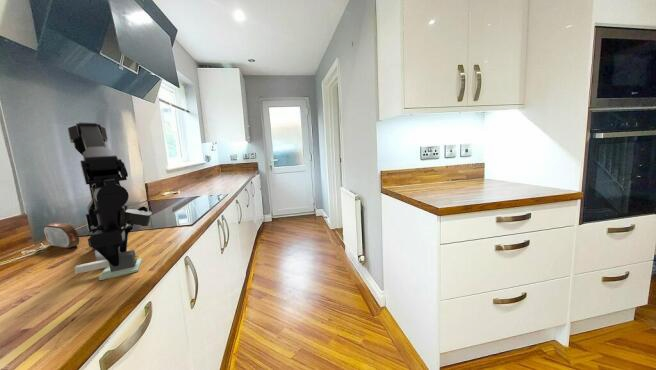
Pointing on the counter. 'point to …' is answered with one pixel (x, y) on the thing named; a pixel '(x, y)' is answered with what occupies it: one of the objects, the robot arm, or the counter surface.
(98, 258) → the housing
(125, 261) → the plug
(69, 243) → the tin
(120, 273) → the mat
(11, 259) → the counter surface
